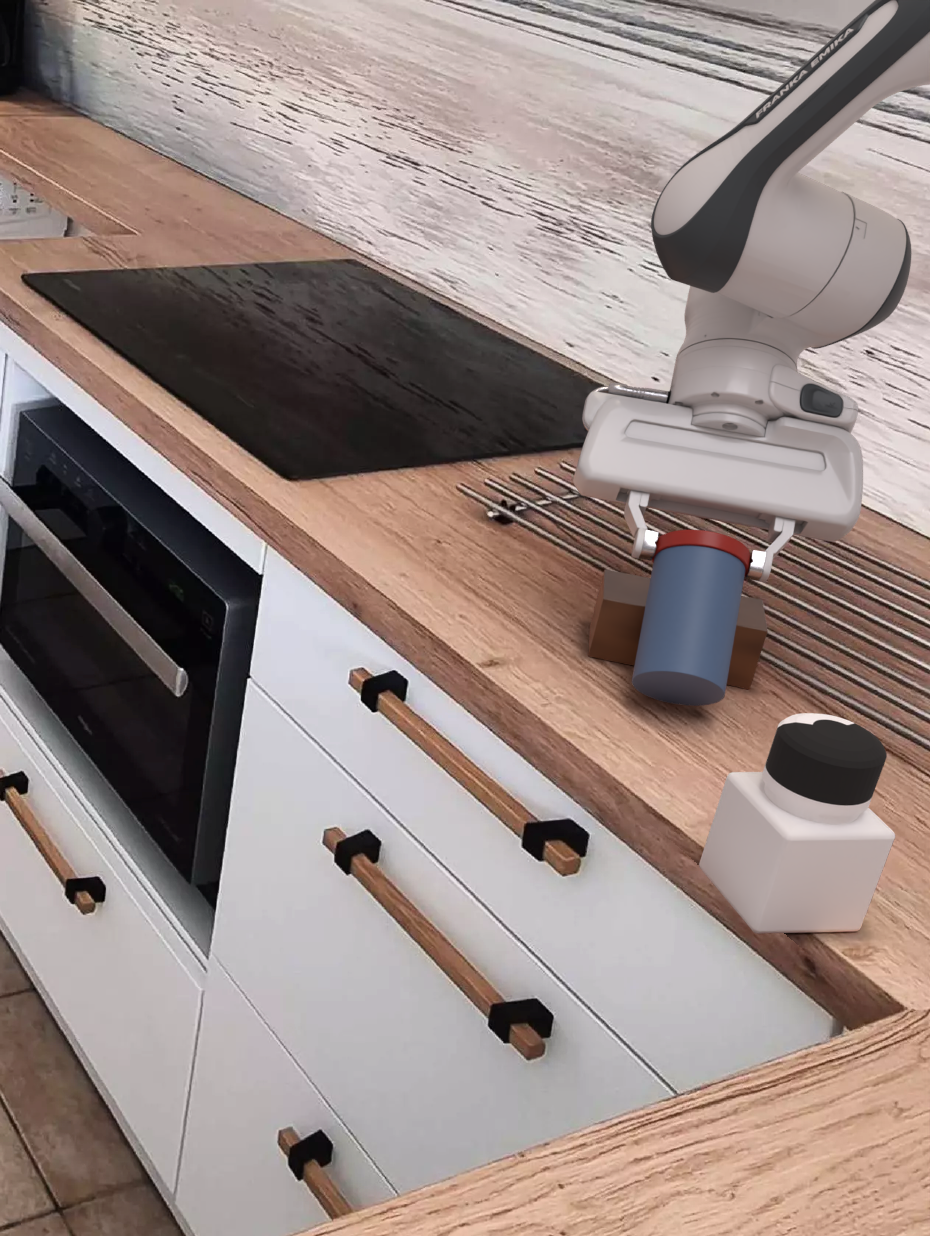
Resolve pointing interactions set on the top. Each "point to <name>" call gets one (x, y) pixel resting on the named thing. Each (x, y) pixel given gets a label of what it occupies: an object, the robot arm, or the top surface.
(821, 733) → the medicine bottle
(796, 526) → the robot arm
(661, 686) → the container
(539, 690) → the top surface
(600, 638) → the block
